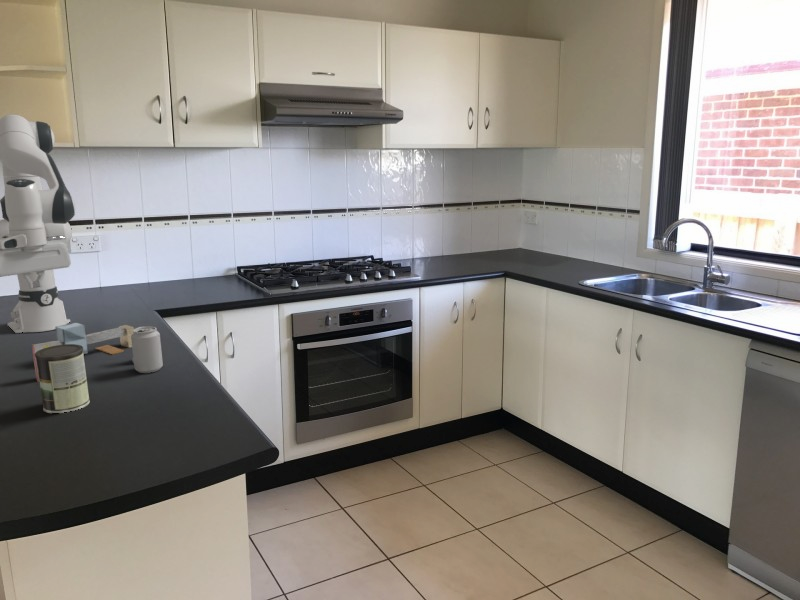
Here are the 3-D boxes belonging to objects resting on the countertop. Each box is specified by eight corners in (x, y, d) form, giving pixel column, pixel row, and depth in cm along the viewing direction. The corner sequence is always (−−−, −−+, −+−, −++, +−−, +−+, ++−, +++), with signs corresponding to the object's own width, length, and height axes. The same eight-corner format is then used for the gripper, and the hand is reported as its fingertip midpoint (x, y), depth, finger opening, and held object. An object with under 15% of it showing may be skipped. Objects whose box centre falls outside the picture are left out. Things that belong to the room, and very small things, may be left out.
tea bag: (36, 378, 181) (31, 343, 179) (63, 373, 185) (59, 339, 183) (37, 382, 178) (32, 346, 176) (65, 377, 182) (60, 342, 180)
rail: (44, 361, 196) (41, 341, 195) (123, 342, 215) (121, 323, 214) (59, 367, 190) (57, 346, 189) (140, 347, 209) (138, 328, 207)
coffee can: (34, 414, 156) (25, 356, 153) (57, 398, 166) (49, 344, 163) (77, 413, 156) (69, 356, 152) (97, 397, 166) (91, 343, 162)
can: (134, 367, 189) (129, 327, 186) (162, 364, 191) (158, 324, 189) (135, 375, 182) (130, 333, 179) (164, 371, 185) (159, 330, 182)
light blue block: (59, 354, 197) (55, 326, 195) (79, 349, 202) (75, 322, 200) (67, 357, 194) (63, 329, 192) (87, 352, 198) (84, 325, 196)
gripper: (61, 234, 194) (67, 280, 197) (-16, 242, 178) (-9, 292, 181) (71, 235, 190) (77, 282, 193) (-7, 243, 174) (1, 295, 177)
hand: (35, 287), depth 187 cm, fingers closed
